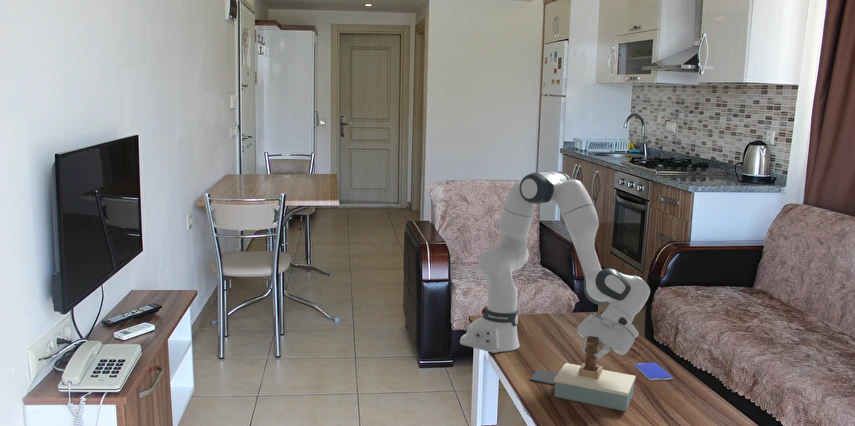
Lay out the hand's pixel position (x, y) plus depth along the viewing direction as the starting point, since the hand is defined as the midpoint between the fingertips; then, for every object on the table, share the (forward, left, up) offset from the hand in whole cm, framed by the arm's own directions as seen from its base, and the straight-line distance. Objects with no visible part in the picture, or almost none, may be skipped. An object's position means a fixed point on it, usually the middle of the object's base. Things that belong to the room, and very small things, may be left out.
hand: (590, 354), depth 219 cm
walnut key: (0, +1, -7) cm, 7 cm away
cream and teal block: (+2, -1, -13) cm, 13 cm away
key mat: (-15, +5, -13) cm, 20 cm away
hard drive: (+17, +27, -13) cm, 34 cm away
